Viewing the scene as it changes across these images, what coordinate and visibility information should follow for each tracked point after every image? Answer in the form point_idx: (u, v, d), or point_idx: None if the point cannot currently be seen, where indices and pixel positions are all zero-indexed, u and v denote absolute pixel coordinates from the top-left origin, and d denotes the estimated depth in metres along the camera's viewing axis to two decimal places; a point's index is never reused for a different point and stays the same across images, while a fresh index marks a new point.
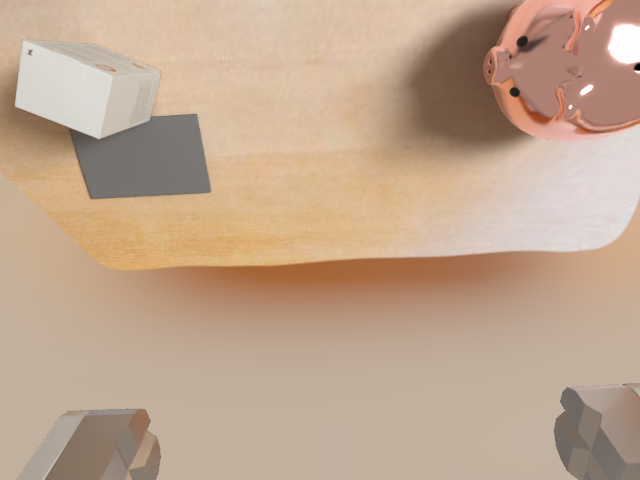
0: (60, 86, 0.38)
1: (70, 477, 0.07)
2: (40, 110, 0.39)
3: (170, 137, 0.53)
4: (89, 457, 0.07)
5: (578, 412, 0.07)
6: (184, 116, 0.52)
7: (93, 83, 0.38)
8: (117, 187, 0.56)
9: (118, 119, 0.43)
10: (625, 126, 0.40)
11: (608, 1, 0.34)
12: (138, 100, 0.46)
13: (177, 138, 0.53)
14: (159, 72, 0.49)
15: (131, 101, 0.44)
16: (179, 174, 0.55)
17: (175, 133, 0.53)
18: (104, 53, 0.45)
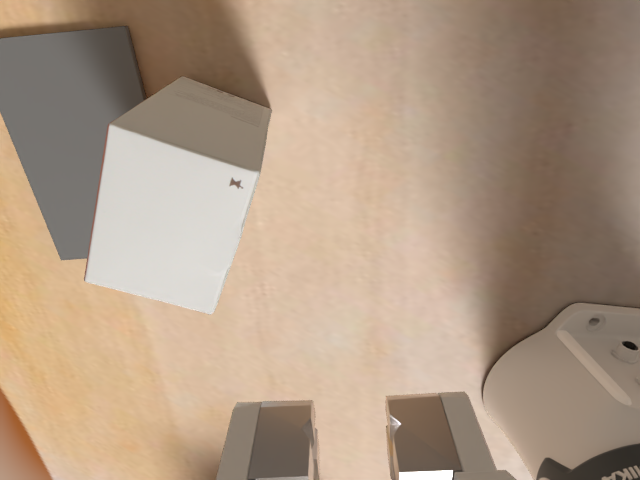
0: (176, 230, 0.19)
1: (276, 469, 0.07)
2: (115, 181, 0.18)
3: None
4: (285, 448, 0.07)
5: (389, 421, 0.08)
6: None
7: (192, 285, 0.20)
8: (16, 103, 0.29)
9: None
10: None
11: None
12: None
13: None
14: None
15: None
16: (79, 218, 0.33)
17: None
18: None
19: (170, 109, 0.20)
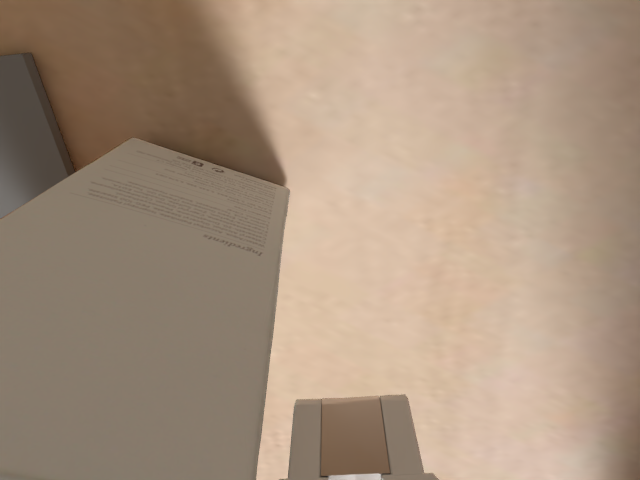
0: None
1: (348, 466, 0.07)
2: None
3: None
4: (354, 446, 0.07)
5: None
6: None
7: None
8: None
9: None
10: None
11: None
12: None
13: None
14: None
15: None
16: None
17: None
18: None
19: (40, 253, 0.08)
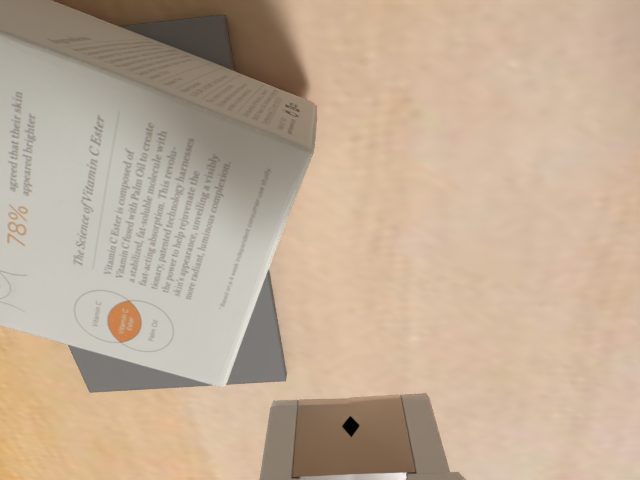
0: None
1: (320, 467, 0.07)
2: None
3: None
4: (327, 447, 0.07)
5: None
6: (278, 359, 0.20)
7: None
8: None
9: None
10: None
11: None
12: None
13: None
14: (202, 380, 0.13)
15: None
16: None
17: None
18: (107, 208, 0.10)
19: (45, 2, 0.13)
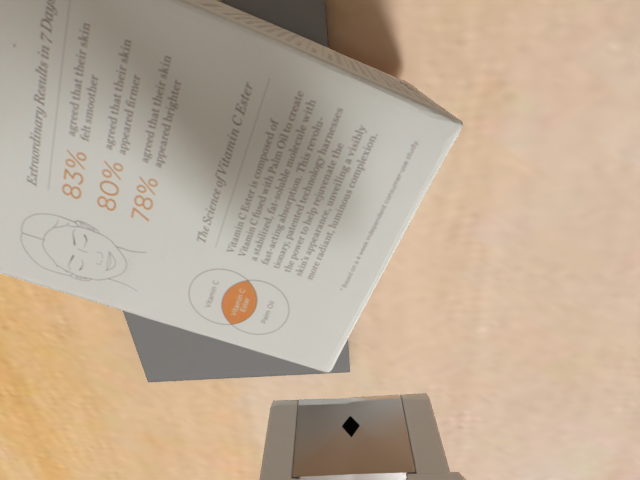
0: None
1: (320, 467, 0.07)
2: None
3: None
4: (327, 447, 0.07)
5: None
6: (345, 349, 0.20)
7: None
8: None
9: None
10: None
11: None
12: None
13: None
14: (307, 365, 0.13)
15: None
16: None
17: None
18: (241, 182, 0.10)
19: None
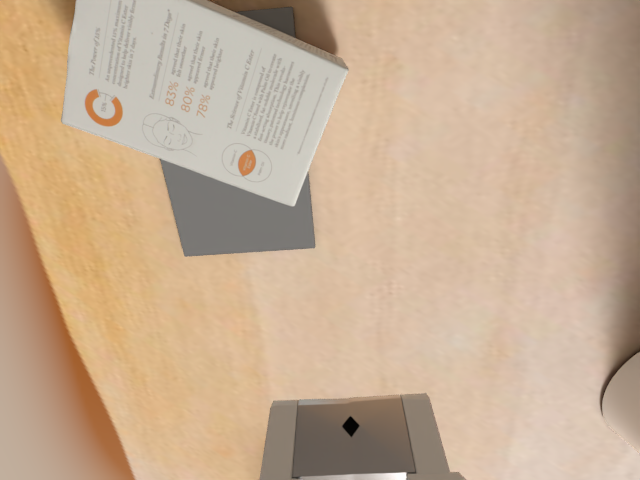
0: None
1: (320, 467, 0.07)
2: None
3: (275, 205, 0.31)
4: (327, 447, 0.07)
5: None
6: (311, 231, 0.31)
7: None
8: None
9: None
10: None
11: None
12: None
13: (273, 216, 0.31)
14: (282, 202, 0.24)
15: None
16: (210, 212, 0.31)
17: (283, 214, 0.31)
18: (248, 97, 0.21)
19: None
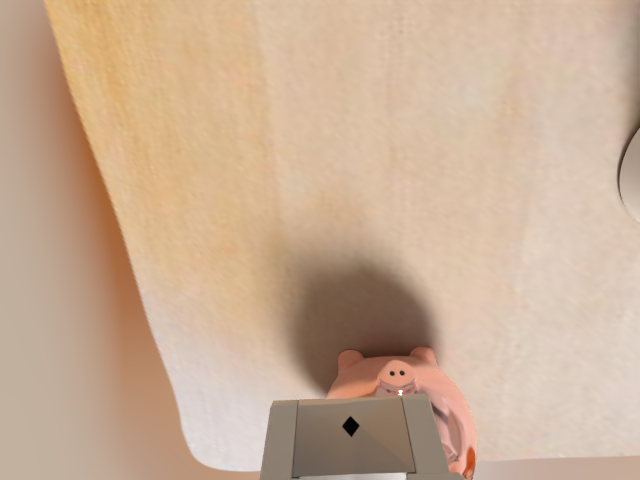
0: None
1: (320, 467, 0.07)
2: None
3: None
4: (327, 447, 0.07)
5: None
6: None
7: None
8: None
9: None
10: None
11: None
12: None
13: None
14: None
15: None
16: None
17: None
18: None
19: None
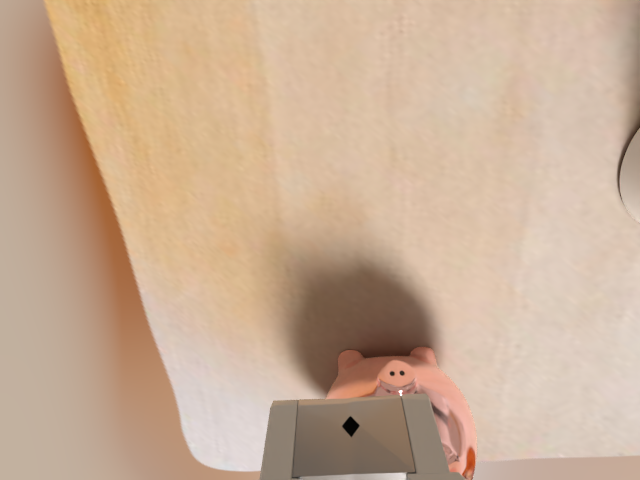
0: None
1: (320, 467, 0.07)
2: None
3: None
4: (327, 447, 0.07)
5: None
6: None
7: None
8: None
9: None
10: None
11: None
12: None
13: None
14: None
15: None
16: None
17: None
18: None
19: None
